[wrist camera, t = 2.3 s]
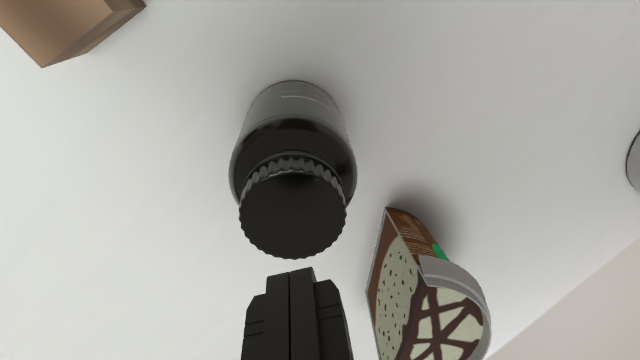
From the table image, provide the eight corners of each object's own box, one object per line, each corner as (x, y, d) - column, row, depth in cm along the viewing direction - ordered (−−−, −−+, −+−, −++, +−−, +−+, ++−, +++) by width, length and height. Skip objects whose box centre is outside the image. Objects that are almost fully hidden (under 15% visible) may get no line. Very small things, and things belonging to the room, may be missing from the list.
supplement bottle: (322, 63, 25) (346, 121, 14) (352, 150, 28) (390, 251, 18) (228, 99, 26) (185, 180, 15) (268, 180, 29) (256, 295, 18)
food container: (424, 305, 36) (467, 408, 28) (362, 303, 36) (386, 408, 27) (460, 196, 31) (529, 282, 22) (388, 191, 30) (429, 278, 21)
